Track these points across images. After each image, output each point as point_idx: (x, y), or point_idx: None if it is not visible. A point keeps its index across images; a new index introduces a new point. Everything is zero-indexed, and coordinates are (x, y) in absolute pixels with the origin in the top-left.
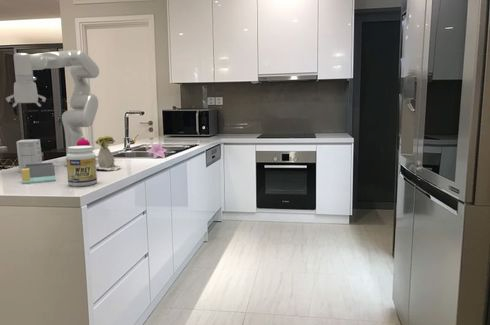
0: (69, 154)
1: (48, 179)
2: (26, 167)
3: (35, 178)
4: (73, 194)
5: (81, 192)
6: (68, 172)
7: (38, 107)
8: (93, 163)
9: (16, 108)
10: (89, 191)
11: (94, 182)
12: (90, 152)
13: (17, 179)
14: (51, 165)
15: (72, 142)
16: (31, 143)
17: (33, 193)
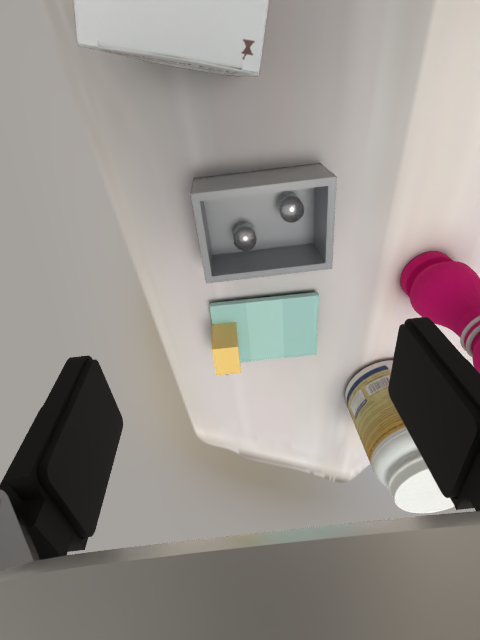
0: (385, 484)
1: (295, 351)
2: (216, 281)
3: (252, 320)
4: (340, 464)
5: (358, 455)
6: (357, 431)
7: (459, 495)
8: None
9: (94, 519)
10: None
11: None
12: None
13: (175, 243)
14: (320, 269)
15: None
16: (221, 71)
17: (259, 439)
